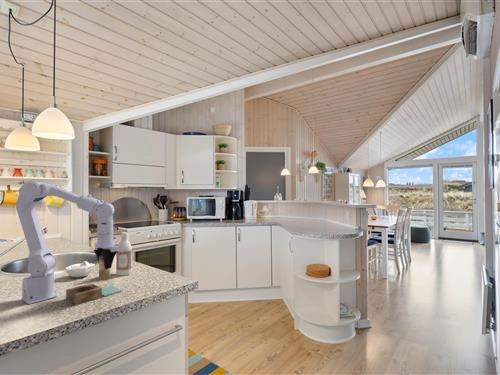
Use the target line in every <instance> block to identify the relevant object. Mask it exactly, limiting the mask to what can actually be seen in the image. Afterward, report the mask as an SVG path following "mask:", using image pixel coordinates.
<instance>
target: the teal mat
mask: <svg viewBox="0 0 500 375" xmlns="http://www.w3.org/2000/svg"><path fill="white" fill-rule="evenodd" d="M101 288H102V297H103V298H104V297H109V296H112V295H115V294H116V295H117V294H119V293H122V292H123V290H122V289H120V288H118V287H115V286H113V285H108V286H105V287H101Z"/></svg>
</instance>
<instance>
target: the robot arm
mask: <svg viewBox="0 0 500 375" xmlns="http://www.w3.org/2000/svg"><path fill="white" fill-rule="evenodd" d="M52 196H53V197H57V198H59V199H63V200H65V201H68V202H70V203H74V204H75V205H76V206H77V208H78V209H80V210H83V211H86V212H88V213H91V214H92V215H96V217H97V224H96V225H97V226H96V227H97V234H96V236H97V241H96V242H94V248H95V249H93V252H94V254H95V256H96V258H97V262H98V263H99V256H103V259H104V266H105V269H109V268H110V269H112V266H113V263H114V259H115V256H116V253H117V246H118V245H117V243H116V242H114V214H115V210H116V209H115V207H114V205H113V204H111V203H110V202H105V200H103V199H101V200H99V199H97V198H95V197H93V195H91V194H83V195H78V194H76V193H73V192H71V191H70V190H68V189H64V188H63V187H60V186H58V185H55V184H52V183H48V182H45V181H30V180H29V181H27V182H25V183H23V184H22V185H21V186H20V188H18V196H17V200H16V203H15V209H16V212H17V215H18V220H19V222H20V225H21V229H22V232H23V234H24V237H25V241H26V244H27V248H28V250H29V253H28V257H27V261H28V265H27V271H28V273H29V274H30V275H29V276H26V277H23V279H22V288H21V290H22V291H21V292H22V294H21V296H22V297H21V300H22V301H23V302H25V303H26V304H28V305H30V304H35V303H38V302H42V301H46V300H49V299H54V298H57V297H59V294H57V293H55V270H54V268H55V267H56V265H57V262H58V261H57V258H56V256H55V255H54V254H53V253H52V250H51V249H50V248H49V247H48V246H47V243H46V241H45V236H44V234H43V230H42V227H41V224H40V221H39V218H38V215H37V211H36V206H38V204H39V203H40V202H41V201H43V200H44V199H45V198H46V197H52Z"/></svg>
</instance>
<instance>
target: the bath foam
mask: <svg viewBox="0 0 500 375" xmlns="http://www.w3.org/2000/svg"><path fill="white" fill-rule="evenodd" d="M128 234H129V233H128V232H127V231H123V232H120V241H119V243H118V244H117V245H116V246H117V253H116V255H115V256H116V258H115V260H116V261H115V262H116V264H115V266H116V267H115V270H116V276H122V277H123V276H128V275H130V274H131V273H133V272H132V271H133V269H132V268H133V247H132V245H131V243H130V241H129V240H128V236H129V235H128Z"/></svg>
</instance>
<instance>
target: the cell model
mask: <svg viewBox="0 0 500 375" xmlns="http://www.w3.org/2000/svg"><path fill="white" fill-rule="evenodd" d="M95 265H96V264H95V263H92V262H88V261H86V260H84V261H83V262H81V263H75V264H71V265H69V266H67V267H65V271H66V273H67V274H68V275H69V276H70V277H72V278H82V277H83V278H84V277H86V276H88V275H89V274H90V273H91V272H92V271H93V270H94V267H95Z"/></svg>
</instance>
